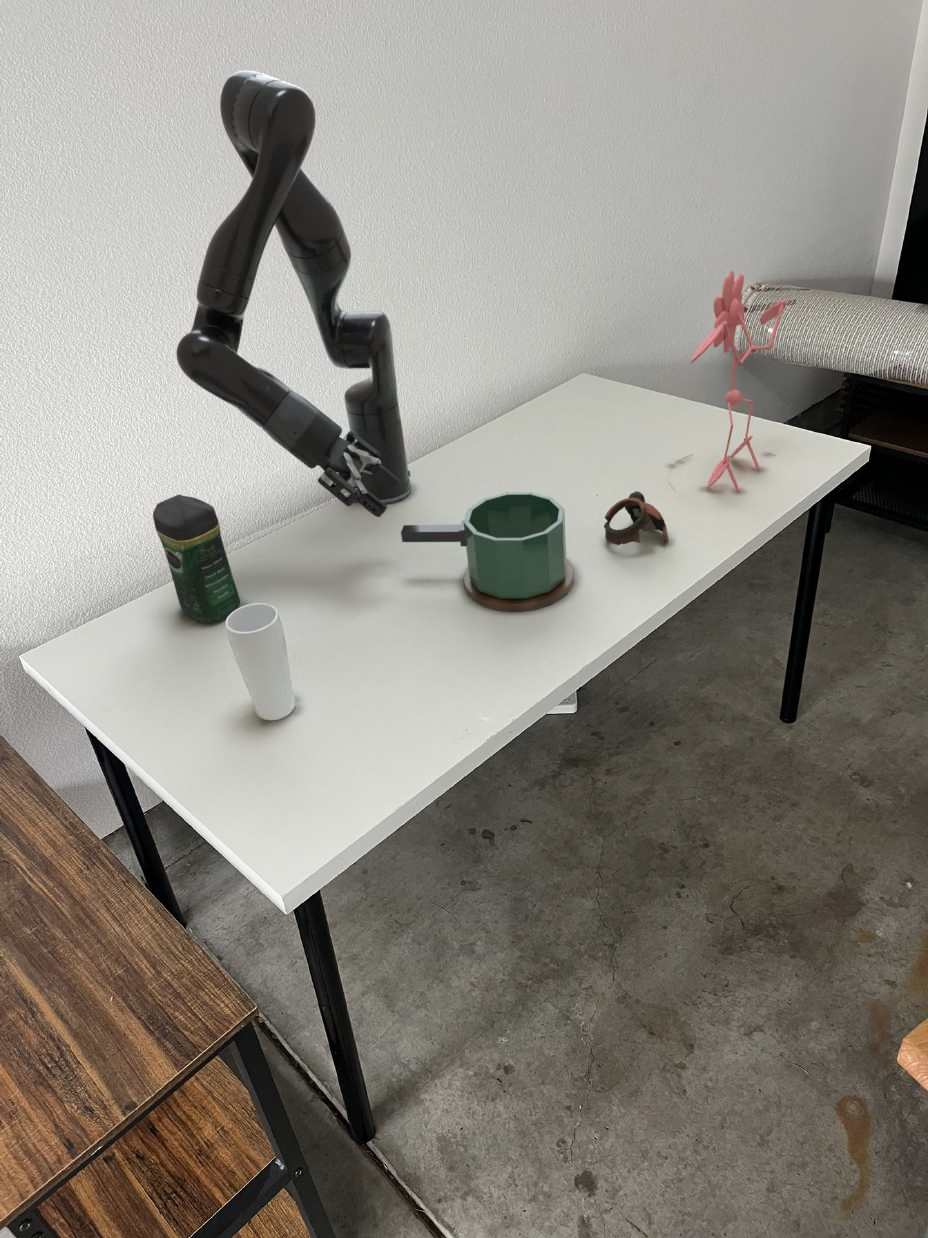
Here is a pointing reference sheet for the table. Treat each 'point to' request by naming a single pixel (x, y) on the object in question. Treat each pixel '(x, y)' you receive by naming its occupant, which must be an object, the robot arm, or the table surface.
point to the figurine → (728, 317)
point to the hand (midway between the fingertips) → (389, 498)
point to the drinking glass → (262, 658)
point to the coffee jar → (196, 558)
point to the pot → (507, 543)
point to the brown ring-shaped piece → (634, 520)
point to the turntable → (520, 604)
